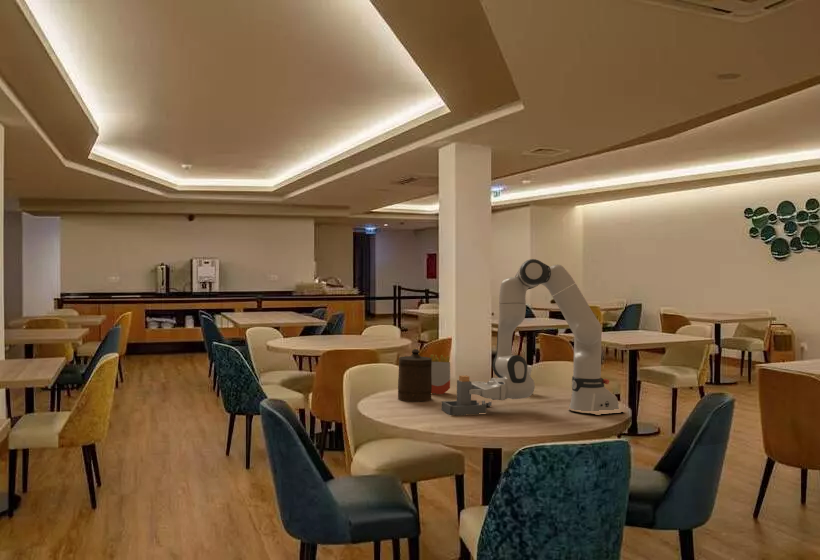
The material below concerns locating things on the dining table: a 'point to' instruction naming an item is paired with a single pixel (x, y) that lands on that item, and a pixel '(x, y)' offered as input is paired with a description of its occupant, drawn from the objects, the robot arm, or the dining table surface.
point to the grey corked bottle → (463, 391)
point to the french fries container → (440, 374)
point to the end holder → (462, 408)
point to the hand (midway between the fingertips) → (464, 389)
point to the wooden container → (414, 378)
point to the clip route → (486, 403)
